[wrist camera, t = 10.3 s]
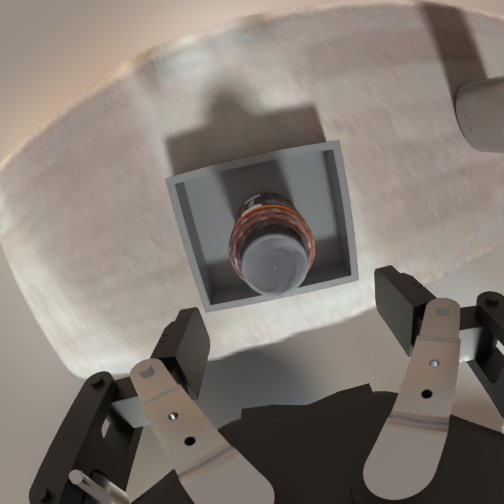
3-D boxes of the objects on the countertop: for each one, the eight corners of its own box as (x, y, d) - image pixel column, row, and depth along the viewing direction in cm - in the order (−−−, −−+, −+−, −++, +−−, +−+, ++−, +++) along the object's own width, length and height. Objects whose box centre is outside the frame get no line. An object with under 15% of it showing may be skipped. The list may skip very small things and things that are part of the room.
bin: (326, 142, 25) (339, 140, 21) (346, 265, 29) (358, 280, 25) (177, 175, 26) (165, 178, 22) (210, 294, 30) (205, 312, 26)
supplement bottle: (233, 194, 26) (217, 218, 15) (296, 189, 26) (325, 210, 15) (239, 254, 28) (229, 313, 17) (299, 249, 28) (325, 306, 17)
